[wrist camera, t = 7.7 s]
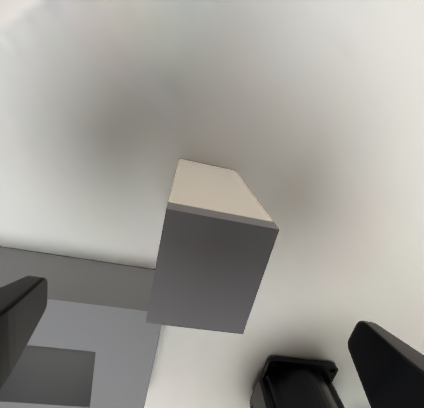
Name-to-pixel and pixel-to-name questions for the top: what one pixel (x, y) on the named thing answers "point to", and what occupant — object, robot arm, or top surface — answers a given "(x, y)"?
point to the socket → (83, 334)
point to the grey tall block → (210, 251)
